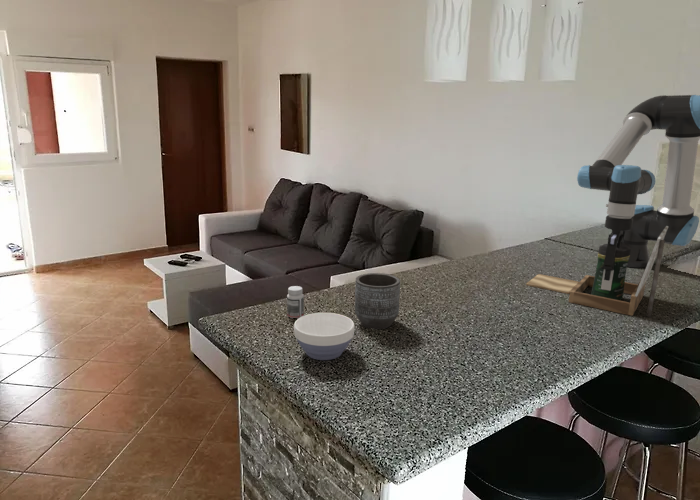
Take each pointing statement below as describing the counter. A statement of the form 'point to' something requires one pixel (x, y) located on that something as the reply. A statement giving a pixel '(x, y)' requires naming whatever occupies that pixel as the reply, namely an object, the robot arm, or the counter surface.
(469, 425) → the counter surface
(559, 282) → the mat
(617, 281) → the coffee jar
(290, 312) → the pill bottle
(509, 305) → the counter surface
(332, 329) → the bowl
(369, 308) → the planter
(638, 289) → the cold frame
